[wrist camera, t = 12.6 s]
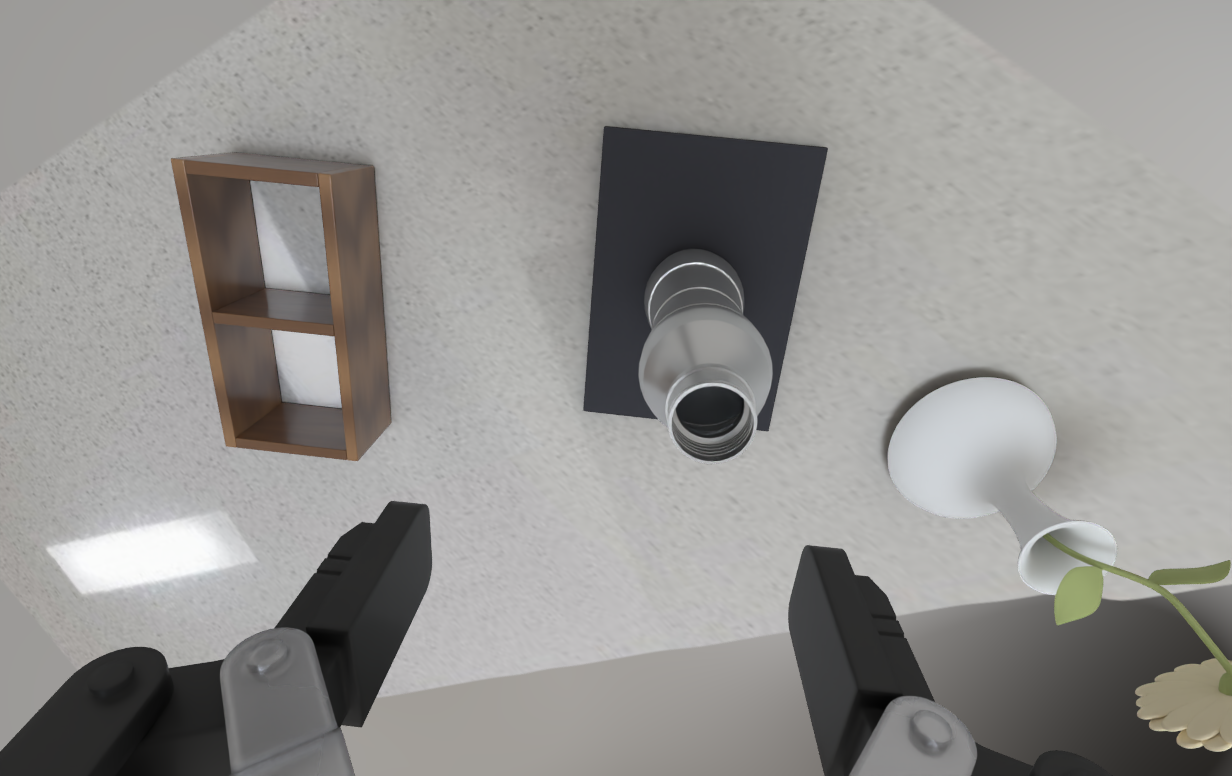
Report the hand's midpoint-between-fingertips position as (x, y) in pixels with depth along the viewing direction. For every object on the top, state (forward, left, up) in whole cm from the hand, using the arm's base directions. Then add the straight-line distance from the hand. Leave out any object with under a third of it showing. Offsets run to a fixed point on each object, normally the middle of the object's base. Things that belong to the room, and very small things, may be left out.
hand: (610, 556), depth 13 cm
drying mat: (+3, +3, -32) cm, 33 cm away
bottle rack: (+6, -24, -32) cm, 40 cm away
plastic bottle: (+2, +3, -32) cm, 32 cm away
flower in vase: (+12, +25, -33) cm, 43 cm away
